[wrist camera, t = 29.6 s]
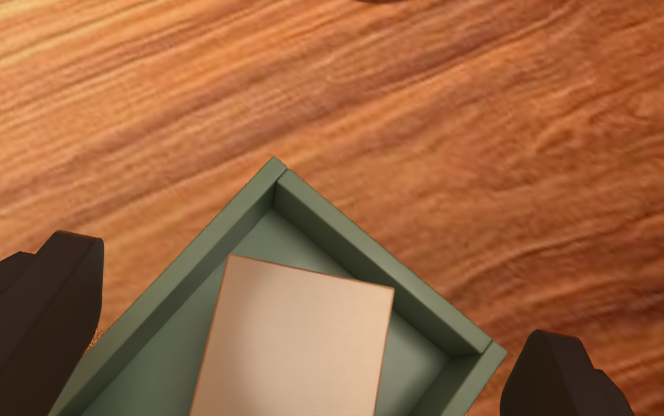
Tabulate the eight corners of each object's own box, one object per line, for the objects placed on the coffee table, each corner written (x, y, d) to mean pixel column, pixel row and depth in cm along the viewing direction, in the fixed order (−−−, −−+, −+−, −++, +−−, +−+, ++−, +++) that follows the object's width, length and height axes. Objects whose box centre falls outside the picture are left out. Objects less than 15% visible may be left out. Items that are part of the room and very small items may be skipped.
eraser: (340, 321, 20) (395, 287, 13) (312, 479, 19) (354, 547, 11) (235, 299, 20) (227, 252, 13) (199, 458, 19) (164, 514, 11)
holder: (465, 356, 21) (509, 352, 18) (276, 619, 19) (283, 677, 15) (269, 191, 22) (273, 154, 19) (57, 419, 19) (13, 428, 16)
